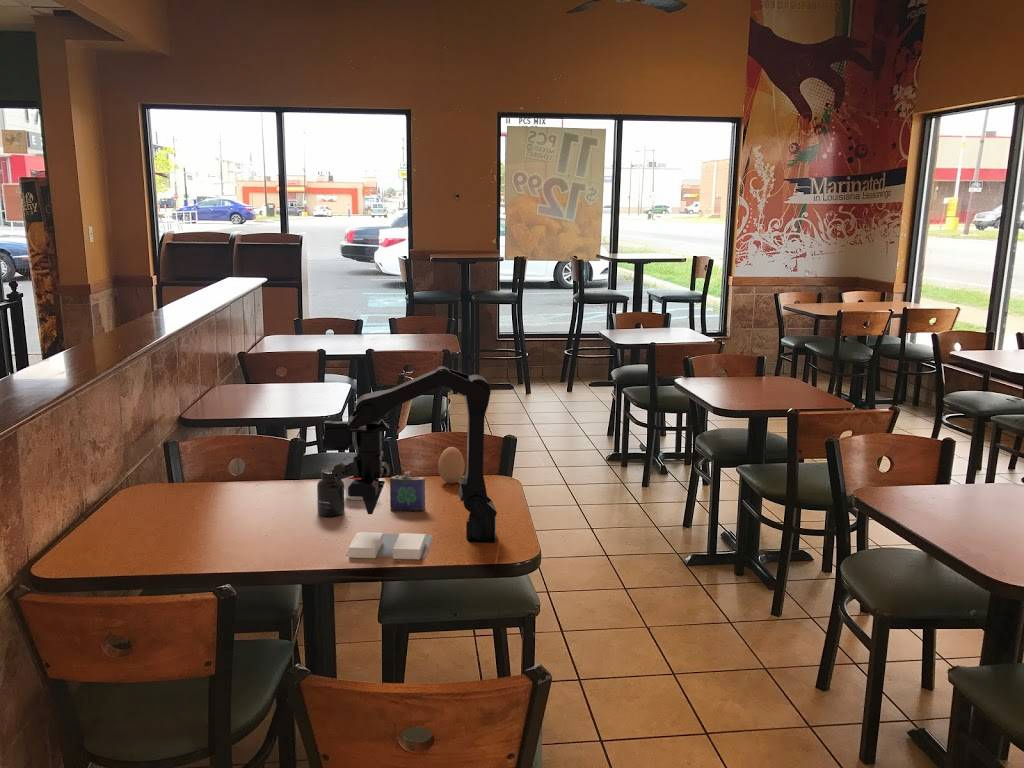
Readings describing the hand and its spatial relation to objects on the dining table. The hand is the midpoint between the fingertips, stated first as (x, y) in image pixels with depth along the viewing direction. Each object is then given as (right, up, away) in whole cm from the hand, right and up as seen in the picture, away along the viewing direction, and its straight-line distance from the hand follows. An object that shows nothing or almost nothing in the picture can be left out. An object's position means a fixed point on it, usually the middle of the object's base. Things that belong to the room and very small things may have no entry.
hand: (370, 513), depth 203 cm
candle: (-9, -1, +35) cm, 36 cm away
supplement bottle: (-13, -4, +21) cm, 25 cm away
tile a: (+10, -6, +1) cm, 12 cm away
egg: (+16, +1, +48) cm, 51 cm away
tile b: (0, -6, +1) cm, 6 cm away
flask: (+6, -3, +25) cm, 26 cm away
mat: (+5, -8, 0) cm, 9 cm away
